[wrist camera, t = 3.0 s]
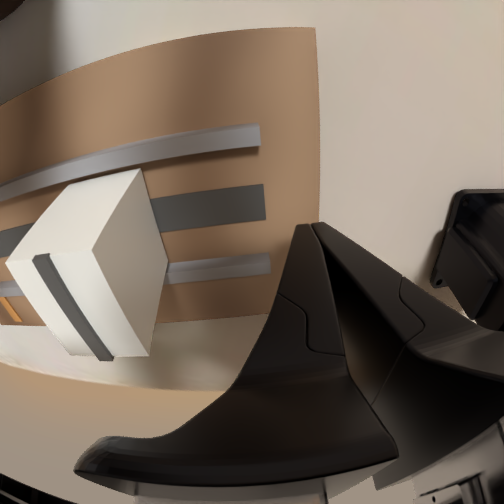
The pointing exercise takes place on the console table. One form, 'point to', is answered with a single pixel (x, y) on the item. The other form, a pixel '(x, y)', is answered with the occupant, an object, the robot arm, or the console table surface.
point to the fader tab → (95, 267)
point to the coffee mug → (8, 7)
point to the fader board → (179, 160)
